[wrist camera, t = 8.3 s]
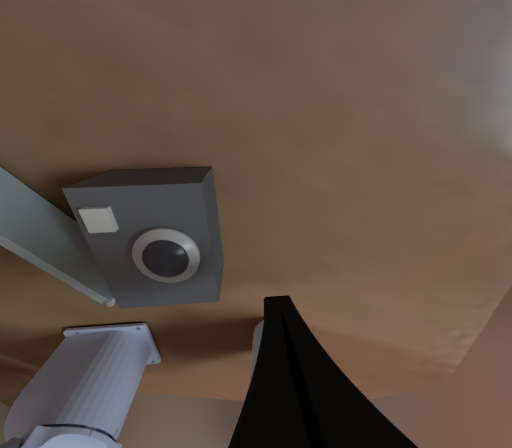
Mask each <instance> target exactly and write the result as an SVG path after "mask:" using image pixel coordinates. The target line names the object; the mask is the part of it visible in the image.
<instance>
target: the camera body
mask: <svg viewBox="0 0 512 448" xmlns="http://www.w3.org/2000/svg"><path fill="white" fill-rule="evenodd" d="M61 189H62V191H63V193H64V195H65V197H66V199H67V201H68V203H69V205H70V207H71V209H72V211H73V213H74V215H75V217H76V219H77V222H78V224H79V226H80V228H81V230H82V232H83V234H84V236H85V238H86V240H87V242H88V244H89V246H90V248H91V250H92V252H93V254H94V257H95V259H96V261H97V263H98V265H99V267H100V269H101V271H102V273H103V275H104V277H105V279H106V281H107V283H108V285H109V287H110V290H111V292H112V294H113V296H114V298H115V300H116V302H117V304H118V306H119V308H131V307H146V306H160V305H175V304H189V303H204V302H218V301H219V298H220V289H221V281H222V273H223V265H224V262H223V254H222V245H221V237H220V229H219V220H218V212H217V204H216V195H215V187H214V178H213V170H212V167H185V168H156V169H127V170H110V171H108V172H105V173H102V174H99V175H97V176H94V177H91V178H89V179H86V180H83V181H80V182H78V183H75V184H72V185H70V186H67V187H64V188H61Z"/></svg>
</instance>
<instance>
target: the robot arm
mask: <svg viewBox="0 0 512 448" xmlns="http://www.w3.org/2000/svg"><path fill="white" fill-rule="evenodd" d="M63 334H64V335H65V337H66V338H65V339H64V340H63V341H62V343H61V344H60V345H59V346H58V348H57V349H56V350H55V351H54V352H53V354H52V355H51V356H50V357H49V359H48V360H47V361H46V362H45V363H44V365H43V366H42V367H41V368H40V370H39V371H38V372H37V373H36V375H35V376H34V377H33V378H32V379H31V381H30V382H29V383H28V384H27V386H26V387H25V388H24V389H23V390H22V392H21V393H20V395H19V396H18V397H17V399H16V401H15V402H14V404H13V406H12V408H11V410H10V412H9V414H8V417H7V419H6V422H5V426H4V437H5V440H6V443H4V444H2V445H0V448H121V447H122V444H120V443H117V442H116V441H117V439H118V436H119V434H120V431H121V428H122V426H123V423H124V421H125V418H126V416H127V413H128V411H129V408H130V405H131V403H132V400H133V398H134V395H135V393H136V390H137V387H138V385H139V382H140V380H141V377H142V375H143V372H144V370H145V367H146V364H157V363H160V362H161V357H160V354H159V352H158V350H157V347H156V345H155V342H154V340H153V338H152V335H151V333H150V330H149V328H148V326H147V324H145V323H134V324H120V325H106V326H93V327H79V328H68V329H65V331H64V332H63ZM228 448H418V447H417V446H416V445H415V444H414V443H413V442H411V441H410V440H409V439H408V438H407V437H406V436H405V435H404V434H403V433H402V432H401V431H400V430H398V429H397V428H396V427H395V426H394V425H393V424H392V423H391V422H390V421H389V420H388V419H387V418H386V417H385V416H384V415H383V414H382V413H381V412H380V411H379V410H378V409H377V408H376V407H375V406H374V405H373V404H372V403H371V402H370V401H369V400H368V399H367V398H366V397H365V396H364V395H363V394H362V393H361V392H360V391H359V389H358V388H357V387H356V386H355V385H354V384H353V383H352V382H351V381H350V380H349V379H348V377H347V376H346V375H345V374H344V373H343V372H342V371H341V370H340V368H339V367H338V366H337V365H336V364H335V362H334V361H333V360H332V359H331V358H330V356H329V355H328V354H327V352H326V351H325V350H324V349H323V347H322V346H321V345H320V343H319V342H318V341H317V339H316V338H315V336H314V335H313V334H312V332H311V331H310V329H309V328H308V326H307V325H306V323H305V322H304V320H303V319H302V317H301V315H300V314H299V312H298V310H297V309H296V307H295V305H294V303H293V302H292V300H291V298H290V296H288V295H287V296H273V297H265V298H264V323H263V330H262V337H261V342H260V347H259V351H258V356H257V360H256V364H255V368H254V372H253V375H252V379H251V382H250V386H249V389H248V392H247V396H246V399H245V402H244V405H243V408H242V411H241V414H240V417H239V419H238V422H237V425H236V428H235V431H234V434H233V436H232V439H231V442H230V444H229V447H228Z"/></svg>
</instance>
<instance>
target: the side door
mask: <svg viewBox="0 0 512 448" xmlns="http://www.w3.org/2000/svg"><path fill="white" fill-rule="evenodd" d="M0 245H1V246H3V247H4V248H6V249H8V250H9V251H11V252H13V253H15V254H16V255H18V256H20V257H21V258H23V259H25V260H27V261H28V262H30V263H32V264H33V265H35V266H37V267H39V268H40V269H42V270H44V271H46V272H47V273H49V274H51V275H52V276H54V277H56V278H58V279H59V280H61V281H63V282H64V283H66V284H68V285H70V286H71V287H73V288H75V289H76V290H78V291H80V292H82V293H83V294H85V295H87V296H88V297H90V298H92V299H94V300H95V301H97V302H99V303H100V304H102V305H104V306H106V307H112V306H113V305H114V303H115V302H116V300H115V298H114V296H113V294H112V292H111V290H110V287H109V285H108V283H107V281H106V279H105V277H104V275H103V273H102V271H101V269H100V267H99V265H98V263H97V261H96V259H95V257H94V254H93V252H92V250H91V248H90V246H89V244H88V242H87V240H86V238H85V236H84V234H83V232H82V230H81V228H80V226H79V224H78V223H77V222H76V221H74V220H73V219H72V218H70V217H69V216H67V215H66V214H65V213H63V212H62V211H61V210H59V209H58V208H56V207H55V206H54V205H52V204H51V203H49V202H48V201H47V200H45V199H44V198H43V197H41V196H40V195H38V194H37V193H36V192H34V191H33V190H32V189H30V188H29V187H27V186H26V185H25V184H23V183H22V182H21V181H19V180H18V179H16V178H15V177H14V176H12V175H11V174H9V173H8V172H7V171H5V170H4V169H3V168H1V167H0Z"/></svg>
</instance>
